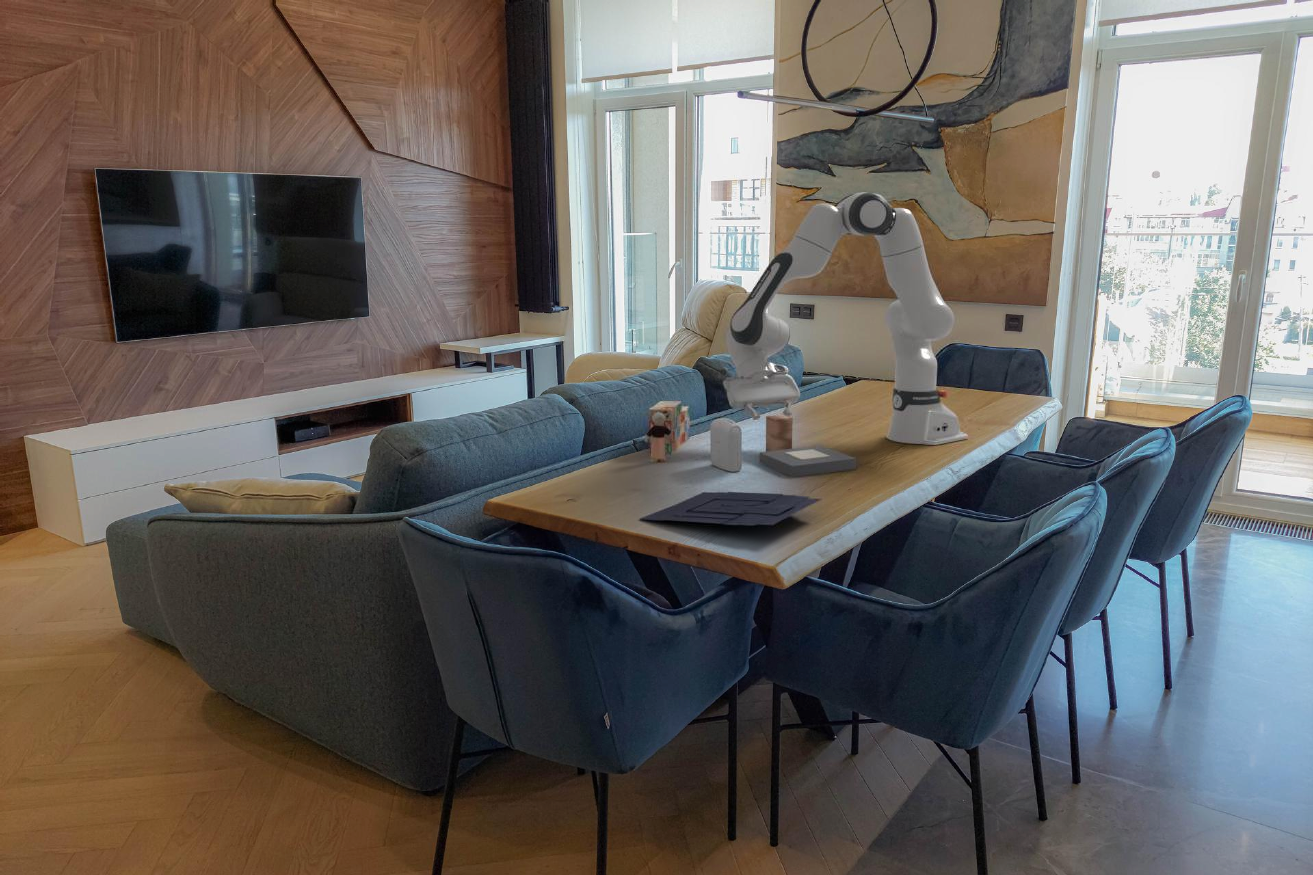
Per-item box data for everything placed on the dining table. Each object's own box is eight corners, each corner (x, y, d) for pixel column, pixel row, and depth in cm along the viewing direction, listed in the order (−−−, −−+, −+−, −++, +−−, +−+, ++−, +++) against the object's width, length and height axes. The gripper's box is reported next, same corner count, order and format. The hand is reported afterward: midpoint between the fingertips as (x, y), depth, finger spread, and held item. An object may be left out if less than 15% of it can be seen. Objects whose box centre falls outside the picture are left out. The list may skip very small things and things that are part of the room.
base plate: (820, 455, 231) (820, 444, 231) (856, 469, 217) (856, 457, 216) (759, 462, 225) (759, 451, 224) (792, 477, 210) (792, 464, 210)
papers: (769, 542, 161) (767, 522, 161) (639, 532, 179) (637, 514, 179) (828, 509, 180) (826, 492, 180) (705, 503, 198) (703, 487, 198)
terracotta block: (782, 451, 237) (782, 414, 235) (791, 455, 232) (792, 417, 230) (765, 453, 235) (766, 416, 233) (775, 457, 230) (775, 419, 228)
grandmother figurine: (651, 464, 225) (650, 415, 222) (643, 461, 228) (642, 412, 225) (676, 459, 229) (675, 411, 226) (667, 457, 232) (667, 409, 230)
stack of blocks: (669, 437, 257) (668, 395, 255) (690, 438, 256) (689, 395, 253) (649, 453, 237) (648, 408, 235) (671, 454, 236) (671, 409, 233)
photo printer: (708, 464, 224) (708, 416, 221) (722, 462, 226) (722, 414, 223) (728, 473, 215) (729, 423, 212) (744, 471, 217) (744, 421, 214)
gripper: (725, 371, 235) (741, 413, 228) (792, 366, 242) (810, 407, 236) (717, 385, 240) (733, 427, 233) (783, 380, 247) (801, 420, 241)
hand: (772, 417), depth 234 cm, fingers open, 8 cm apart
